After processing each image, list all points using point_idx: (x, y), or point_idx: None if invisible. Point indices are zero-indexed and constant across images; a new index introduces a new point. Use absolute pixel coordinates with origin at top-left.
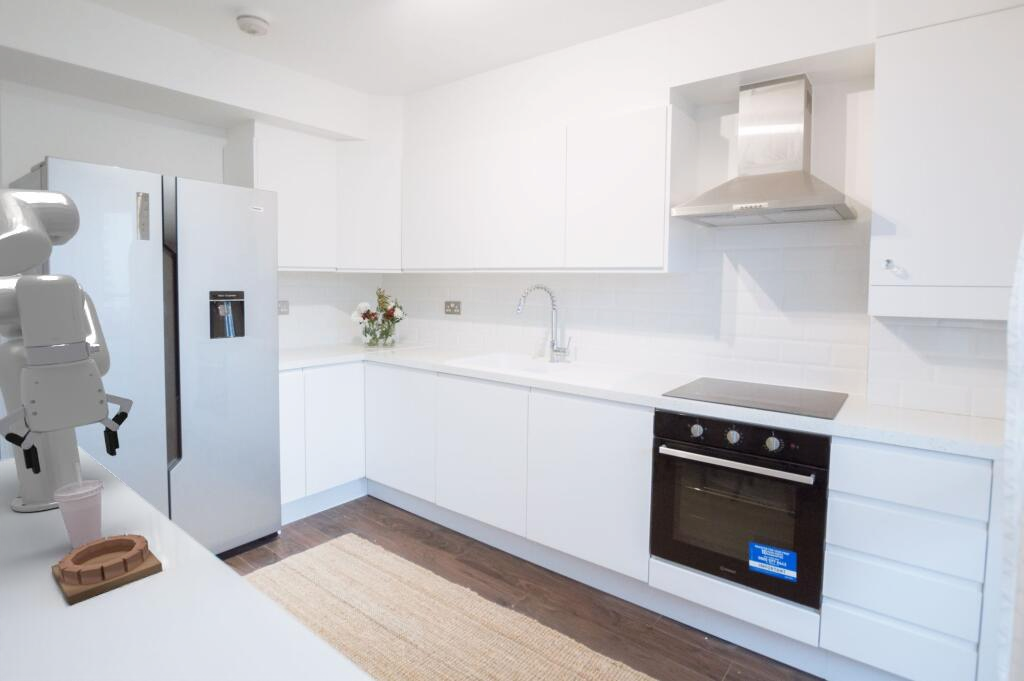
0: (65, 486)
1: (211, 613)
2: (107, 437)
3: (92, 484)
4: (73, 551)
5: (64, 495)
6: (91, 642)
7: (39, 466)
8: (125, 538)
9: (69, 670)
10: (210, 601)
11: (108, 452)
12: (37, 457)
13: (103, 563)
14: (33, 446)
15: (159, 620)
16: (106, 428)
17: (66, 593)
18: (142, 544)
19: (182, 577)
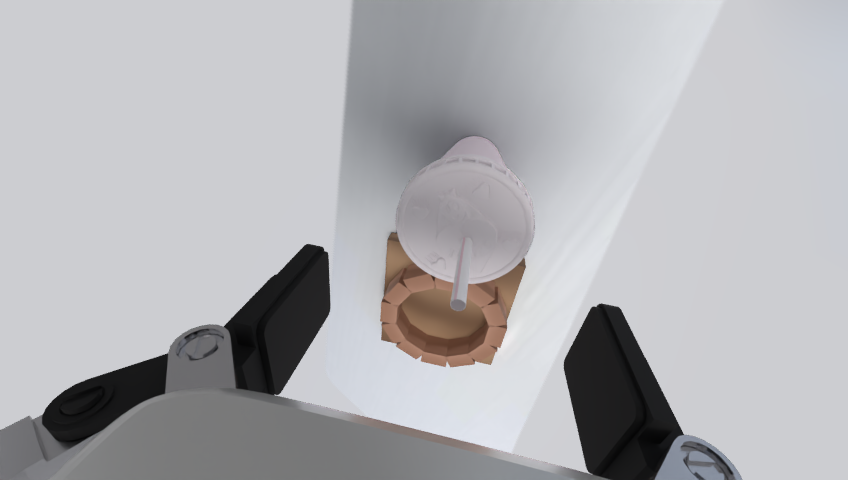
0: (443, 173)
1: (468, 440)
2: (591, 434)
3: (501, 240)
4: (410, 283)
5: (412, 258)
6: (381, 395)
7: (318, 330)
8: (485, 312)
9: (360, 407)
10: (480, 430)
11: (579, 340)
12: (297, 360)
13: (425, 352)
14: (259, 391)
15: (434, 415)
16: (628, 476)
17: (382, 332)
18: (487, 351)
19: (494, 383)
